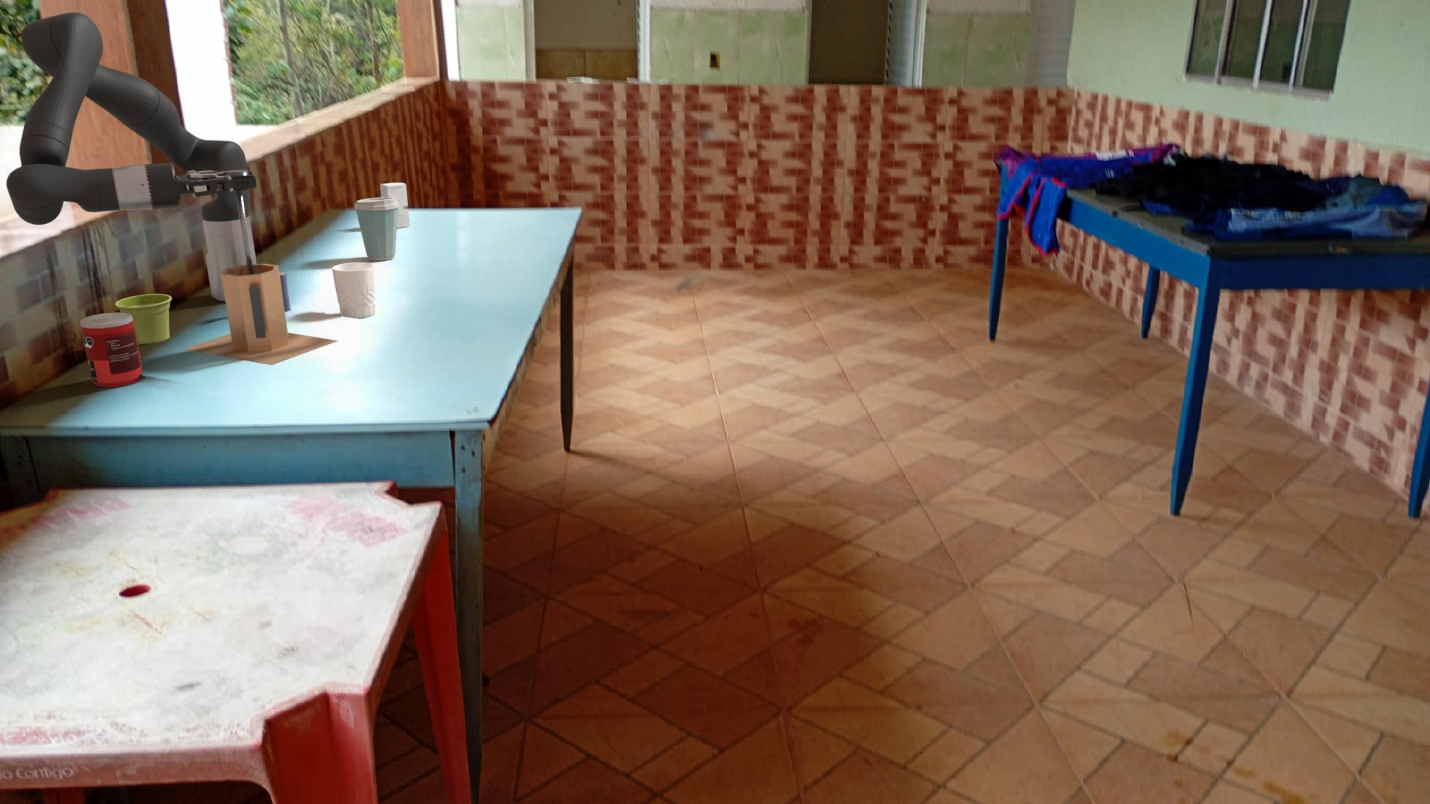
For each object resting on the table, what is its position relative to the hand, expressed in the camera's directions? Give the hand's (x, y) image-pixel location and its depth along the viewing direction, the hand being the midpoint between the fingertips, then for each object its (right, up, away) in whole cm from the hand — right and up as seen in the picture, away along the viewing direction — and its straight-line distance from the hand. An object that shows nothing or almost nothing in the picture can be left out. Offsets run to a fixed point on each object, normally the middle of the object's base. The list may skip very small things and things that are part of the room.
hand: (253, 179), depth 199 cm
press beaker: (-2, -29, +9) cm, 30 cm away
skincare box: (-9, +10, +121) cm, 121 cm away
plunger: (-2, -20, +6) cm, 21 cm away
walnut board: (-2, -30, +9) cm, 31 cm away
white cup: (+8, -21, +33) cm, 40 cm away
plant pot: (-25, -29, +14) cm, 40 cm away
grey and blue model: (-10, -22, +33) cm, 41 cm away
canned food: (-20, -36, -6) cm, 42 cm away
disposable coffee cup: (-2, -4, +83) cm, 83 cm away
